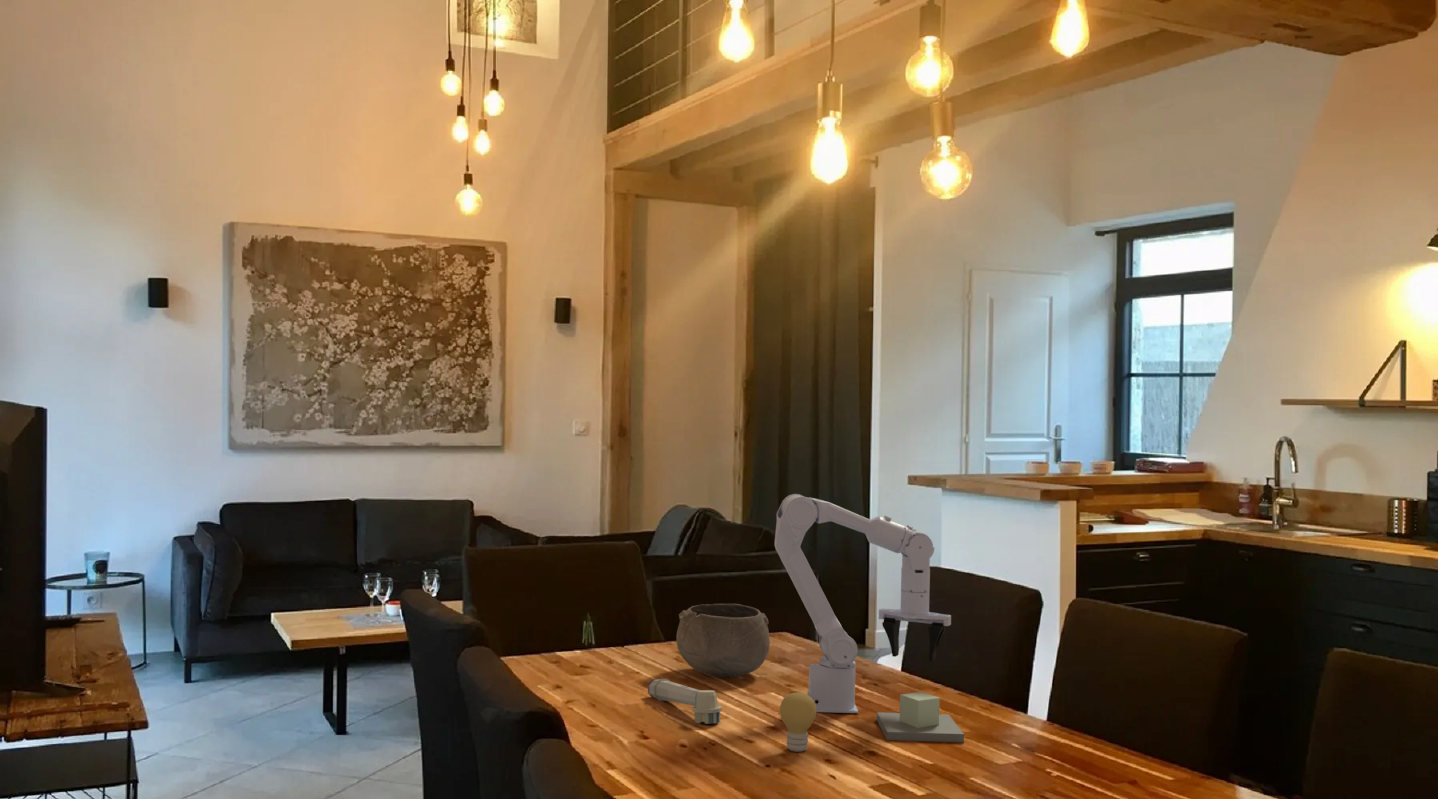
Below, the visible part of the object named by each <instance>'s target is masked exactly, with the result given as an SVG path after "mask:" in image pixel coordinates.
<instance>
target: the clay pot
mask: <svg viewBox="0 0 1438 799" xmlns="http://www.w3.org/2000/svg"><path fill="white" fill-rule="evenodd" d="M678 617H679V623H678V627H677V630H676V648H677V650H678V653H679V654H680V656H681V657H682V659H683V660H684V662H685V663H687V664H688V665H689V667H691V668H692V669H694V670H695V671H697V672H699V673H701V674H703V675H708V676H711V677H717V678H734V677H740V676H744V675H745V676H746V675H748V674H750V673H752V672H754V671H756V670H758V669H759V668H761V666H762V665H763V663H764V662H765V660H766V659H767V656H768V654H769V650H770V645H771V641H770V633H769V626H768V625H769V619H768V617H767V615H766V614H765V613H764V612H761V611H760V610H759V609H758V608H755V607H752V606H749V605H743V604H740V603H712V604H709V603H706V604H704V603H703V604H697V605H692V606H691V607H689V608H687V609H686V610H684V609H683V610H682V611H681V612H680V613H679V614H678Z"/></svg>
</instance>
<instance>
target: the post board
mask: <svg viewBox="0 0 1438 799" xmlns="http://www.w3.org/2000/svg"><path fill="white" fill-rule="evenodd" d="M876 722H877V723H878V725H879V727H880V729H881V732H882V733H883V736H884V737H885V739H886V740H887V741H903V742H904V741H905V742H906V741H907V742H936V743H938V742H941V743H942V742H943V743H964V742H965V733H964V732H963V731H962V729H961V728H960V727H959V726H958V724H957V723H956V722H955V721H954V719H953V718H952V717H951V716H950V714H949V713H948V714H946V713H945V714H944V713H943V714H942V713H939V725H933V726H926V727H920V728H917V727H914V726H912V725H909V724H906V723H903V722H901V721H900V712H884V711H883V712H881V711H880V712H879V711H877V712H876Z"/></svg>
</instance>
